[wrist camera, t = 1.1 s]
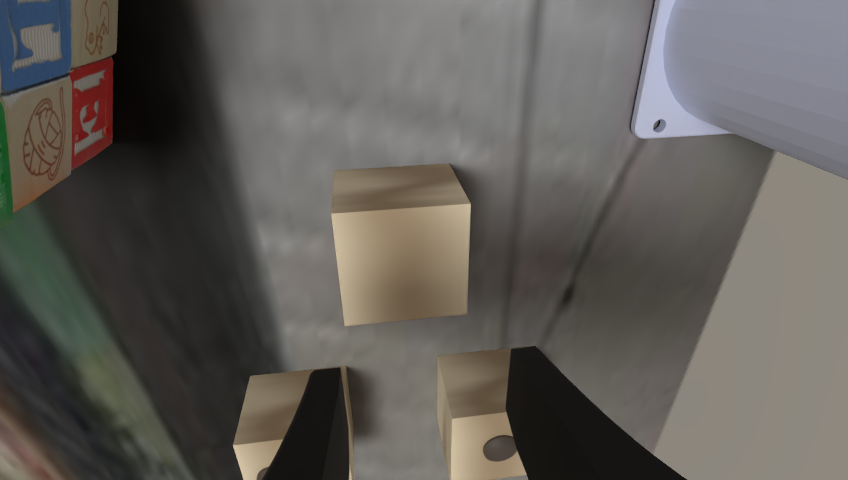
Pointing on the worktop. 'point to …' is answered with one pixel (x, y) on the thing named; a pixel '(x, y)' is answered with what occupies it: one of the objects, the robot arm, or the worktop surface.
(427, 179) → the plain maple block
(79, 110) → the stack of blocks
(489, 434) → the one-dot maple block
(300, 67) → the worktop surface
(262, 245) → the worktop surface
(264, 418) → the two-dot maple block
